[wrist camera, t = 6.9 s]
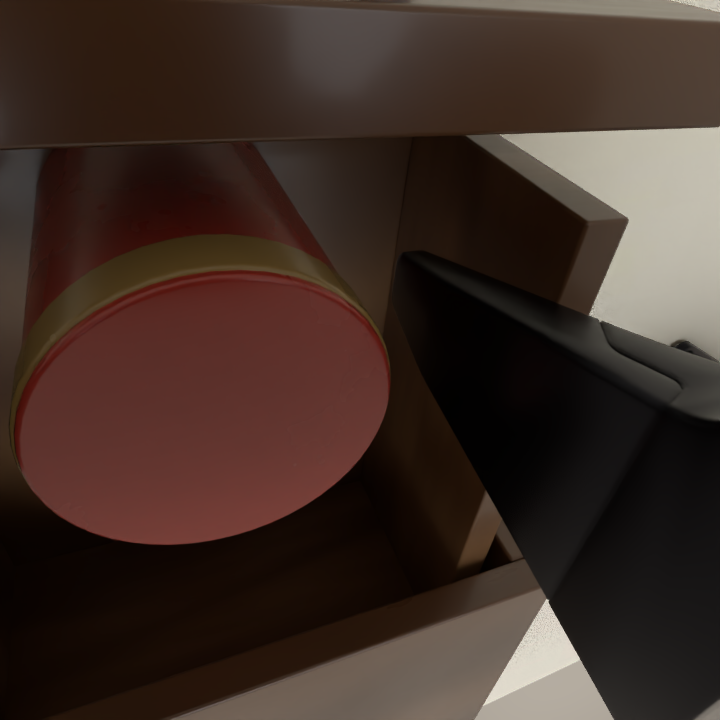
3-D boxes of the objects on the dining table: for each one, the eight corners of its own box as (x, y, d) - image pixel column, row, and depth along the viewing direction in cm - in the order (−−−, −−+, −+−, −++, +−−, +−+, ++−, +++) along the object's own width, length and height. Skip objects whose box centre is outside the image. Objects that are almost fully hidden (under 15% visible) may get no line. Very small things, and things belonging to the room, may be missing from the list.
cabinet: (-112, 447, 14) (-238, 865, 8) (406, 356, 19) (558, 581, 13) (49, 702, 25) (44, 971, 19) (359, 601, 30) (433, 789, 24)
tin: (321, 171, 12) (460, 342, 8) (219, 341, 14) (287, 555, 10) (87, 39, 9) (105, 197, 5) (-4, 276, 11) (-48, 540, 7)
